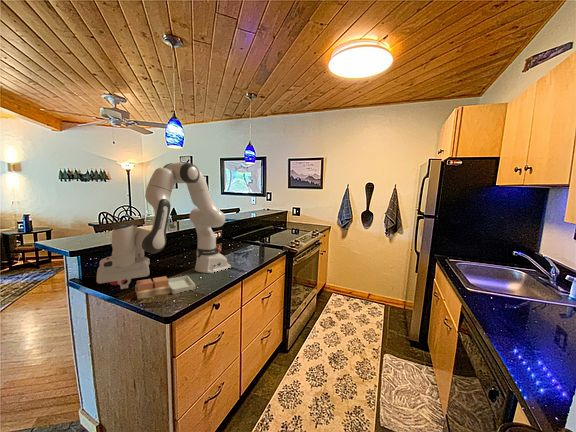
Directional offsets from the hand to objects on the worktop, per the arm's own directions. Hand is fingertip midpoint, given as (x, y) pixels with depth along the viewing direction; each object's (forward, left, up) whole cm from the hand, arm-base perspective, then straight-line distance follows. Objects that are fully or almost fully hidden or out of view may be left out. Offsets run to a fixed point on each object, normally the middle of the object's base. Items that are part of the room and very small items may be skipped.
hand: (124, 288), depth 112 cm
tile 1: (-8, 0, -2) cm, 8 cm away
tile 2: (-15, 0, -2) cm, 15 cm away
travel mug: (-8, -28, -5) cm, 30 cm away
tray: (-25, 0, -5) cm, 25 cm away
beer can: (+2, -20, -5) cm, 21 cm away
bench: (-12, 0, -5) cm, 13 cm away
